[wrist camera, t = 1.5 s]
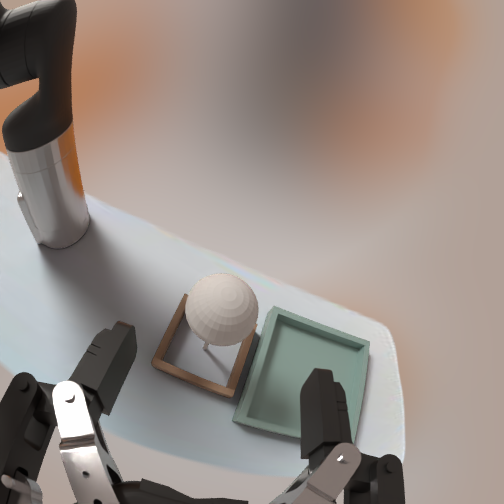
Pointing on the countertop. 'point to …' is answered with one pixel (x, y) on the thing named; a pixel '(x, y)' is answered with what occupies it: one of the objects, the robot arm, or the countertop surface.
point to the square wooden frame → (192, 378)
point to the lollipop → (221, 310)
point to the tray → (299, 371)
